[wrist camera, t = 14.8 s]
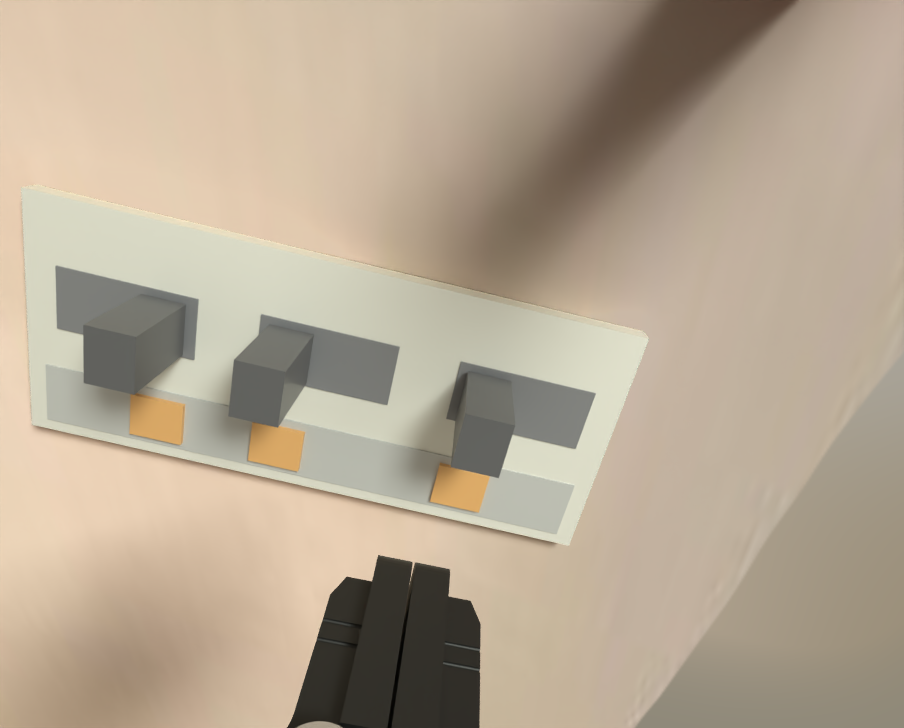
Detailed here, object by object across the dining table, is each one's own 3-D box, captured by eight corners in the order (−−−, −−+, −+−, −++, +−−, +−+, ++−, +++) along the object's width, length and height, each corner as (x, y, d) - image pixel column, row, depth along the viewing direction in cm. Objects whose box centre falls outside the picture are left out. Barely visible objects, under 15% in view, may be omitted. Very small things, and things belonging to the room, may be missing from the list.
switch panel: (37, 184, 32) (15, 188, 30) (643, 331, 33) (651, 341, 32) (45, 415, 37) (27, 427, 36) (566, 533, 39) (569, 550, 37)
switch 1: (140, 293, 32) (83, 324, 28) (185, 304, 32) (135, 336, 28) (139, 345, 33) (83, 383, 29) (182, 355, 33) (134, 394, 29)
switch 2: (468, 371, 33) (465, 413, 28) (511, 381, 33) (515, 425, 28) (455, 418, 34) (450, 467, 29) (497, 428, 34) (498, 478, 30)
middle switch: (269, 324, 32) (234, 359, 28) (313, 334, 33) (285, 371, 28) (263, 374, 34) (228, 416, 29) (306, 384, 34) (277, 427, 29)
